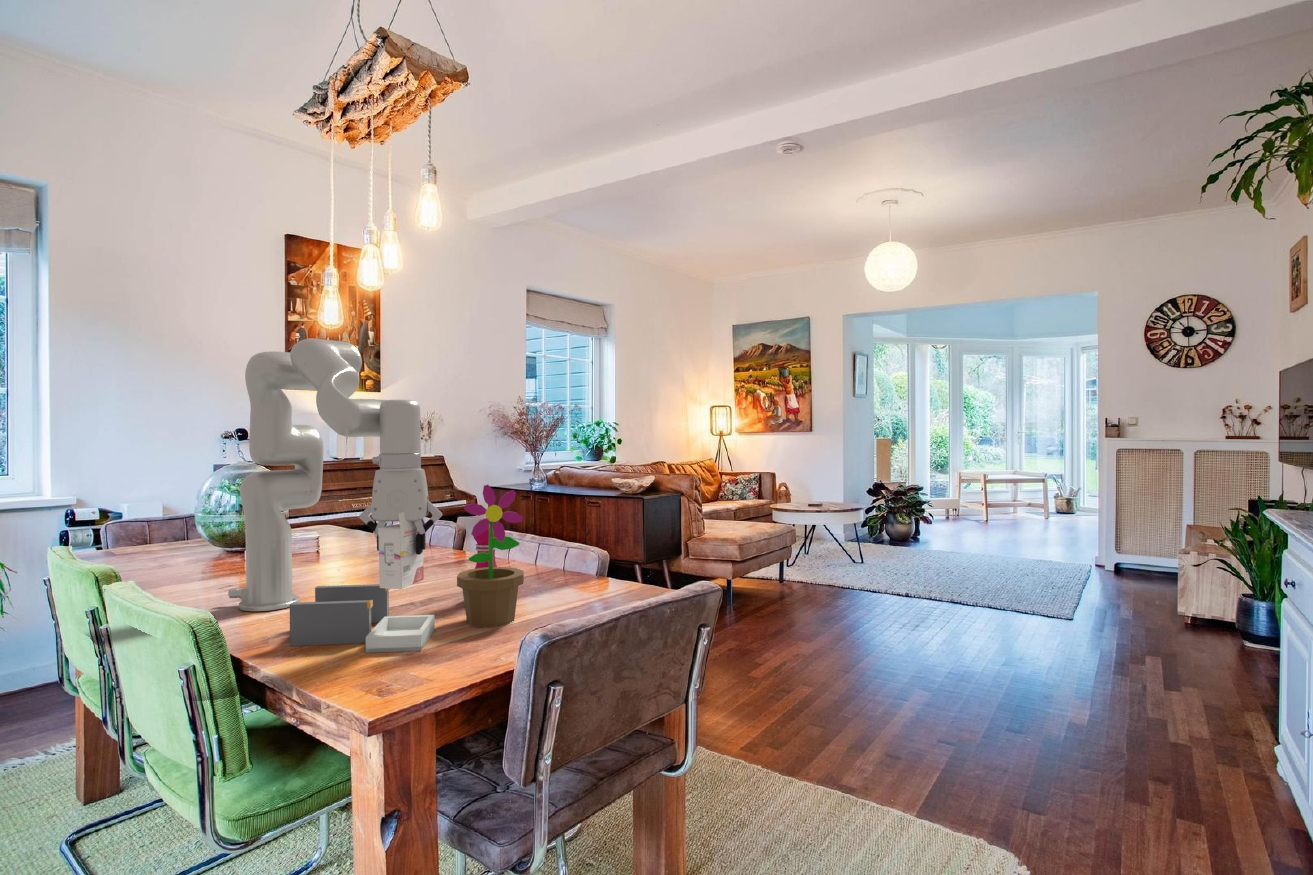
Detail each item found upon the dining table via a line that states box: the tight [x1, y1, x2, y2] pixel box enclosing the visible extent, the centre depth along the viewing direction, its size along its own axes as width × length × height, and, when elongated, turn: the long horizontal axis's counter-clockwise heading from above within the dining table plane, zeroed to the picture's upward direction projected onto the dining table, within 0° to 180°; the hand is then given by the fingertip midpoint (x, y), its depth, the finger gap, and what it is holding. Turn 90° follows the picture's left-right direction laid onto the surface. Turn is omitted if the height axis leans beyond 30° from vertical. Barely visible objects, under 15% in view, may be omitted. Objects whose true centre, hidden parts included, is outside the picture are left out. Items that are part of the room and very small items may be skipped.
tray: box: [365, 614, 436, 654], centre depth 139 cm, size 10×14×3 cm
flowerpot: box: [456, 484, 525, 628], centre depth 152 cm, size 14×14×30 cm
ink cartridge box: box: [378, 512, 425, 590], centre depth 138 cm, size 9×5×15 cm, turn 169°
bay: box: [289, 583, 391, 647], centre depth 144 cm, size 15×16×8 cm
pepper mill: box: [473, 516, 498, 569], centre depth 171 cm, size 7×7×20 cm
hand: (401, 553), depth 138 cm, fingers closed on ink cartridge box, 6 cm apart
